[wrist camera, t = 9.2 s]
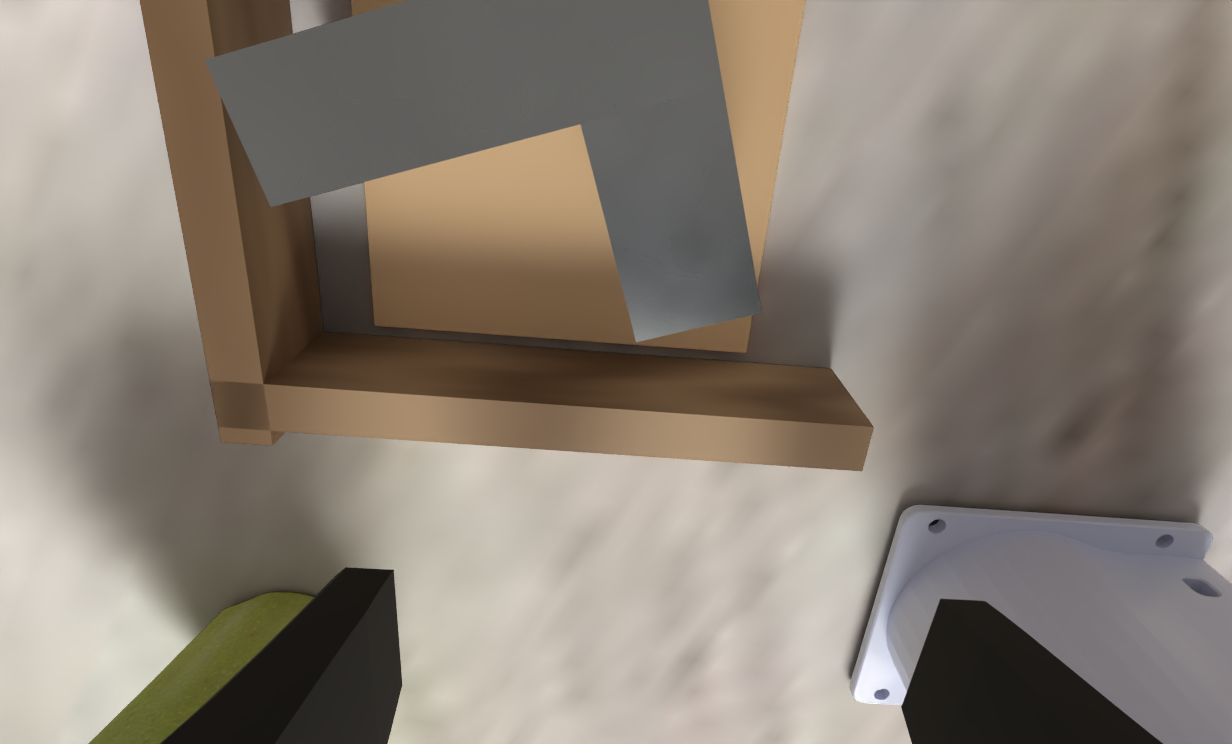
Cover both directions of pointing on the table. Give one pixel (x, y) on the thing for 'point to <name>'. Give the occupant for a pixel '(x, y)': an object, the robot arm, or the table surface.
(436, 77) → the bracket
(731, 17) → the pad
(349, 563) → the table surface
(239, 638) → the plant pot
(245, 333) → the walls
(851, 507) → the table surface
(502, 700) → the table surface
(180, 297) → the table surface
